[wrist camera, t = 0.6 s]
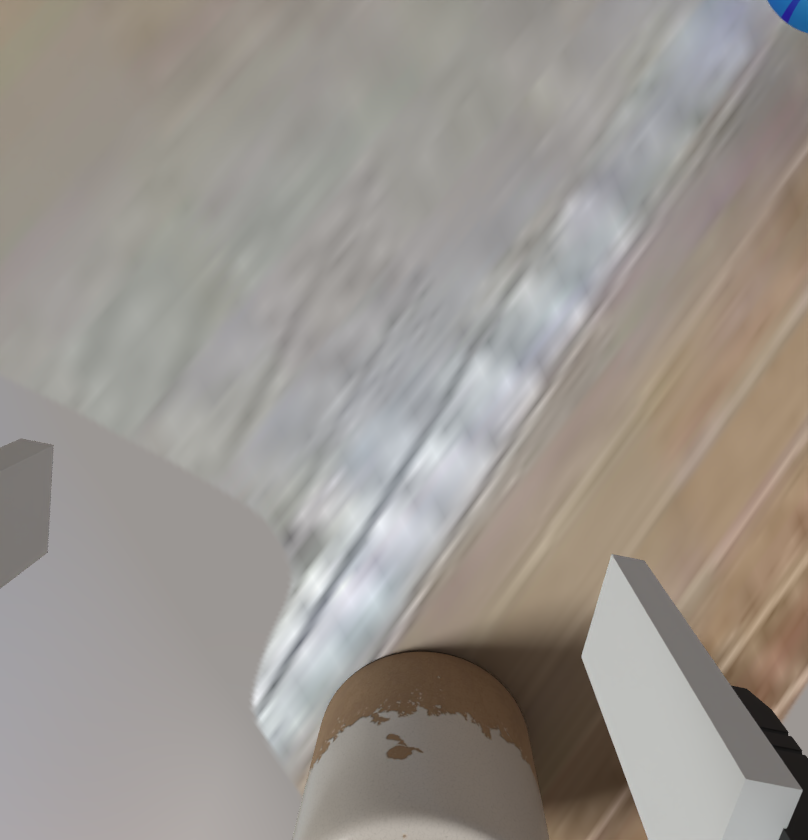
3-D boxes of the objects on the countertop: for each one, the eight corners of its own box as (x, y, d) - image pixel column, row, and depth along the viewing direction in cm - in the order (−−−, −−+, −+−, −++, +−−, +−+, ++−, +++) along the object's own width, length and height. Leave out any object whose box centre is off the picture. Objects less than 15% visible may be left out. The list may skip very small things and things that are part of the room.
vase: (529, 826, 49) (576, 1105, 33) (329, 827, 50) (278, 1099, 33) (526, 645, 45) (577, 857, 29) (311, 651, 46) (244, 858, 30)
